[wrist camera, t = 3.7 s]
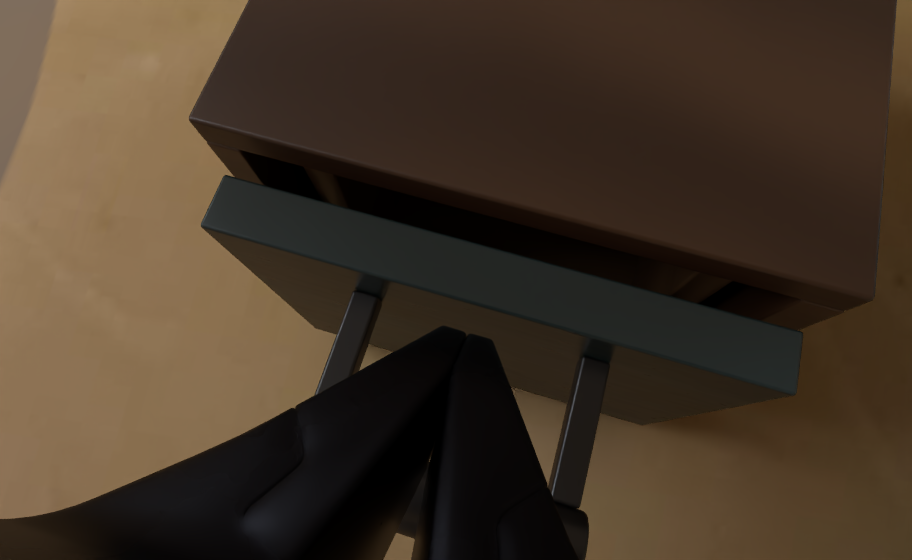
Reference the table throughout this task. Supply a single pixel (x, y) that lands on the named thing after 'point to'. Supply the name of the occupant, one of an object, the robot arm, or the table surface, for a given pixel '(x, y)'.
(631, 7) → the cabinet
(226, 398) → the table surface
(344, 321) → the drawer
